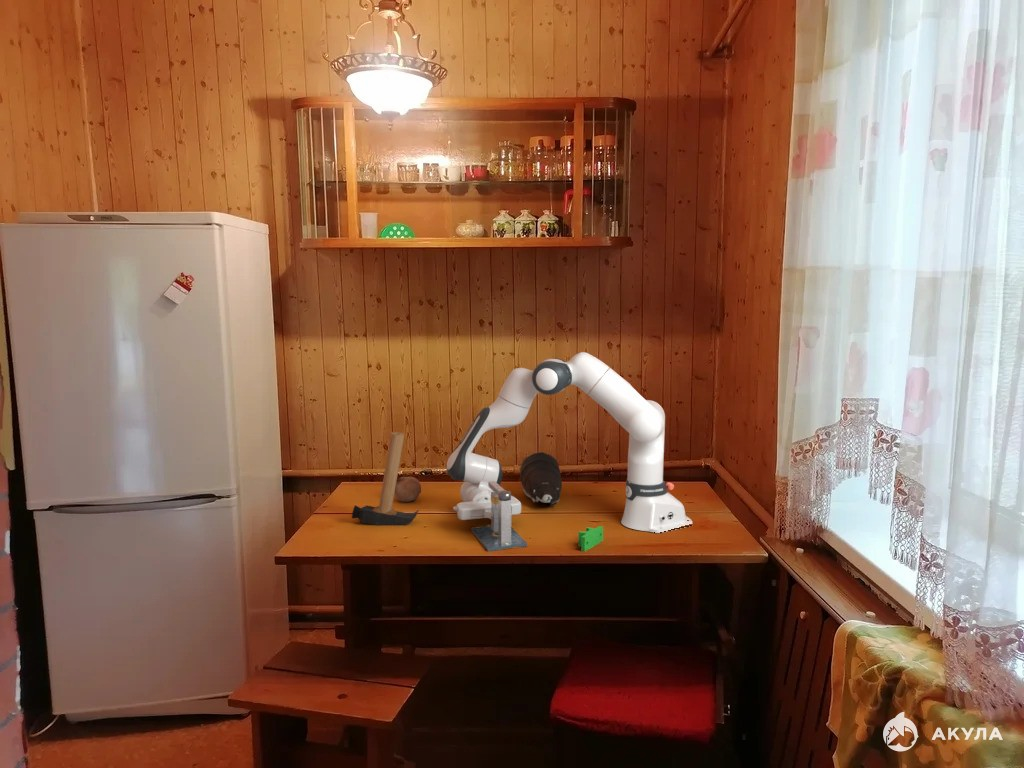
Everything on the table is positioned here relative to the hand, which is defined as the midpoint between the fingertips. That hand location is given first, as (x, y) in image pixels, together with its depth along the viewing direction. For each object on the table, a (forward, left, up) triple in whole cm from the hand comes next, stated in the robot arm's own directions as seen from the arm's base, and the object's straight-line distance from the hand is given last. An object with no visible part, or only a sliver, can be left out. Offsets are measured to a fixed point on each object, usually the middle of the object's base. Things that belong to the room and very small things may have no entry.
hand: (495, 516), depth 213 cm
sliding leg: (0, +2, -5) cm, 5 cm away
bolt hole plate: (0, +3, -6) cm, 7 cm away
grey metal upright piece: (0, +3, -5) cm, 6 cm away
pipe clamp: (-24, +16, -6) cm, 29 cm away
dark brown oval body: (-26, -28, -6) cm, 39 cm away
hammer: (+30, -22, -6) cm, 38 cm away
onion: (+19, -43, -6) cm, 48 cm away
